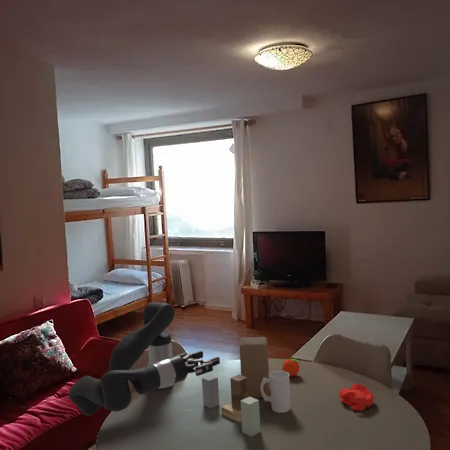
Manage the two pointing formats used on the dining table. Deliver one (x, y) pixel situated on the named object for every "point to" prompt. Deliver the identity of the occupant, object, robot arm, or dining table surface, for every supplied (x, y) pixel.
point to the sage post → (250, 416)
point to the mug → (278, 391)
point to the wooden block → (255, 364)
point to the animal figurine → (357, 397)
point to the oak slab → (231, 412)
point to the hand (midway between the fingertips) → (210, 356)
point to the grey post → (210, 391)
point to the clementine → (291, 367)
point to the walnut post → (238, 390)
